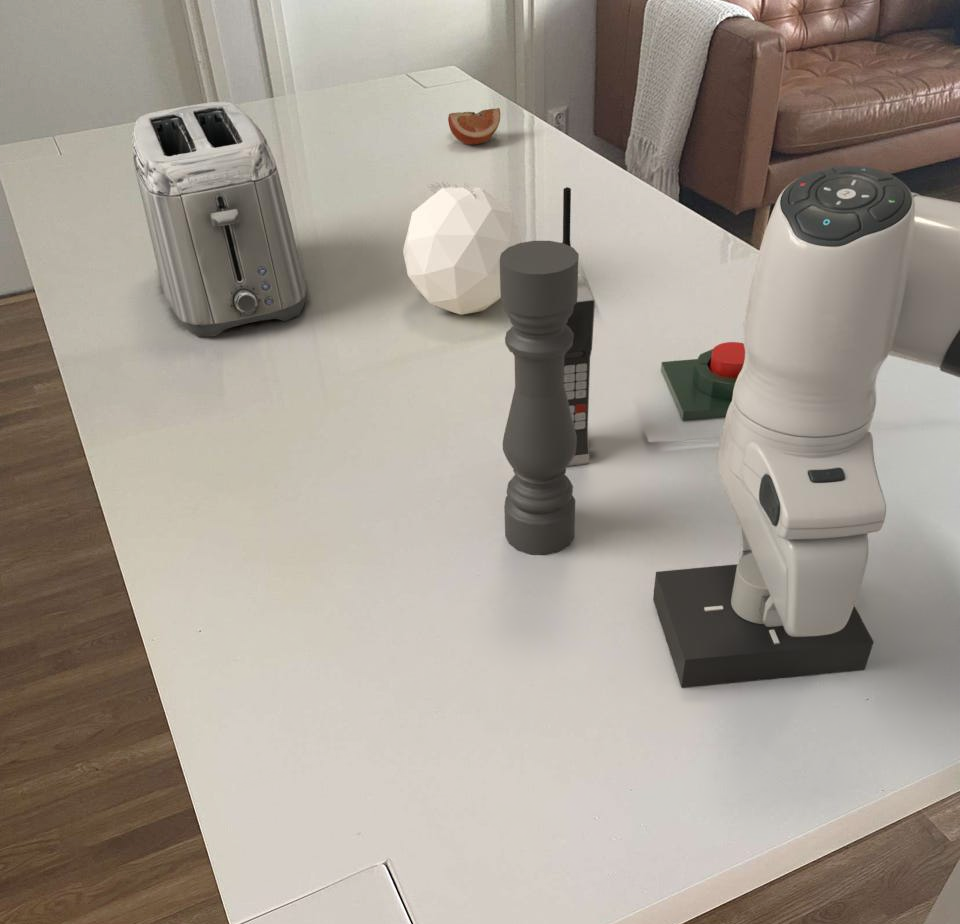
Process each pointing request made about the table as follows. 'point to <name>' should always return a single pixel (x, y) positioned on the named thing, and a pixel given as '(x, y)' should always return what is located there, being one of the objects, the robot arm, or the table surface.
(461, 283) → the geodesic sphere
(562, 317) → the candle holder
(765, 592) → the timer knob
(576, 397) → the vintage mobile phone
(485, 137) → the fruit slice
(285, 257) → the toaster
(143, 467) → the table surface
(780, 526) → the robot arm
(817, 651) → the timer panel
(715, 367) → the button
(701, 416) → the housing
